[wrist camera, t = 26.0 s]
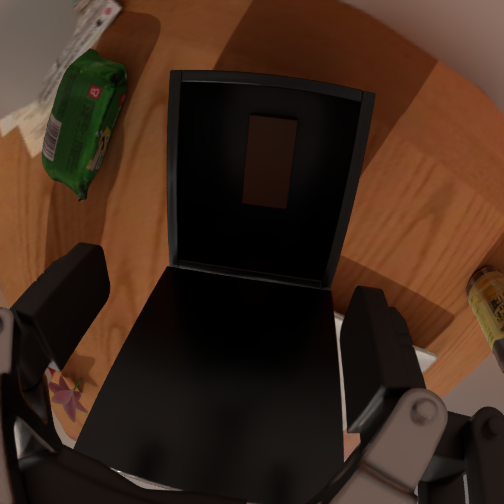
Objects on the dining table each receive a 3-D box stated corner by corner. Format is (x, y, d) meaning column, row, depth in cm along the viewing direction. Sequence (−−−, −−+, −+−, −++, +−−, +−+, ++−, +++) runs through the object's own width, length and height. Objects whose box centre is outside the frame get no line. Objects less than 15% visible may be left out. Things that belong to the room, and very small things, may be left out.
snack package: (57, 169, 31) (30, 185, 26) (95, 47, 23) (65, 46, 19) (100, 193, 32) (75, 212, 28) (147, 66, 24) (121, 65, 20)
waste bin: (209, 74, 24) (169, 70, 16) (347, 91, 24) (375, 93, 15) (201, 215, 32) (169, 266, 24) (321, 232, 31) (329, 290, 23)
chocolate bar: (252, 112, 25) (249, 114, 23) (297, 117, 25) (298, 120, 23) (245, 194, 29) (241, 203, 27) (286, 199, 29) (286, 209, 27)
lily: (51, 354, 55) (32, 385, 50) (75, 378, 49) (54, 414, 44) (83, 375, 63) (66, 403, 58) (110, 397, 58) (91, 429, 53)
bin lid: (71, 451, 10) (105, 478, 13) (344, 505, 9) (312, 519, 12) (166, 265, 23) (172, 315, 26) (331, 290, 22) (315, 338, 25)
